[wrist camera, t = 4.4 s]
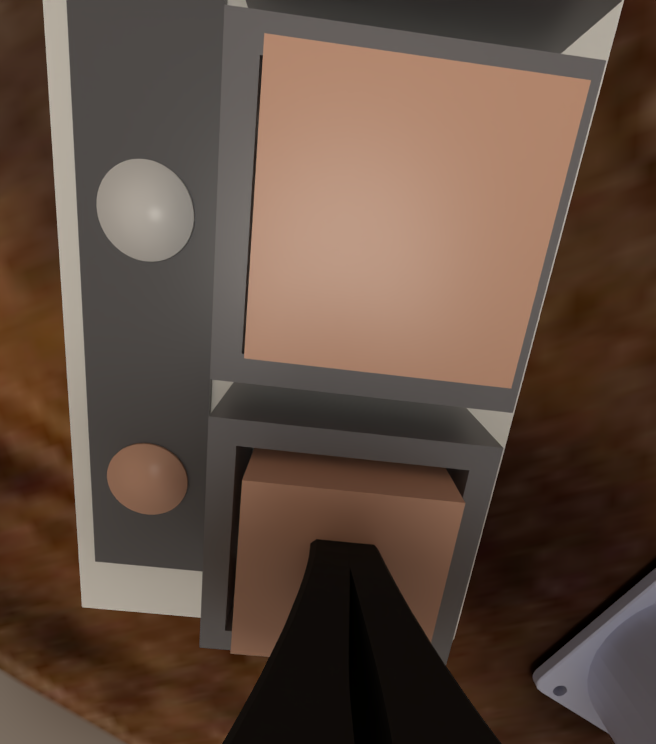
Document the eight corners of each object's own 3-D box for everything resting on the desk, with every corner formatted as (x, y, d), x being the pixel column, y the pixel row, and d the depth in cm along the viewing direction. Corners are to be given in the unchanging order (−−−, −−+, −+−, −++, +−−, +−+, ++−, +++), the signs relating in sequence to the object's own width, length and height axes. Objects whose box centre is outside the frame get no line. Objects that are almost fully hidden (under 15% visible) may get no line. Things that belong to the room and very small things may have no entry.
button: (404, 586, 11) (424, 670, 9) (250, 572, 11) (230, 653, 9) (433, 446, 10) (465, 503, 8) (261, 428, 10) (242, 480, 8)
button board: (441, 602, 15) (482, 726, 11) (107, 571, 14) (24, 689, 10) (677, -358, 8) (1006, -933, 4) (63, -474, 8) (-212, -1241, 4)
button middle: (463, 354, 9) (511, 388, 7) (265, 331, 9) (244, 358, 6) (511, 132, 8) (591, 80, 5) (283, 101, 8) (264, 33, 5)
